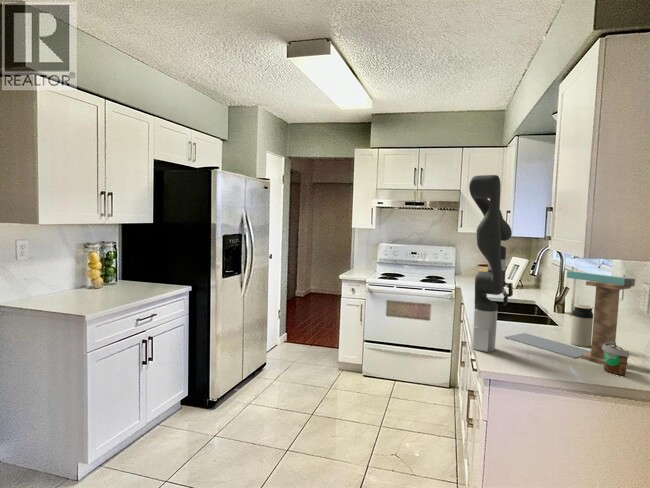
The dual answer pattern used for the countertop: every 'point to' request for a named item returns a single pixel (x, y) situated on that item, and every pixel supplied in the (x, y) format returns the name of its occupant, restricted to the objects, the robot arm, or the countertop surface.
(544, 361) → the countertop surface
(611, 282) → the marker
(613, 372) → the food container
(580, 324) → the travel mug
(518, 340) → the grey mat
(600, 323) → the walnut stand
